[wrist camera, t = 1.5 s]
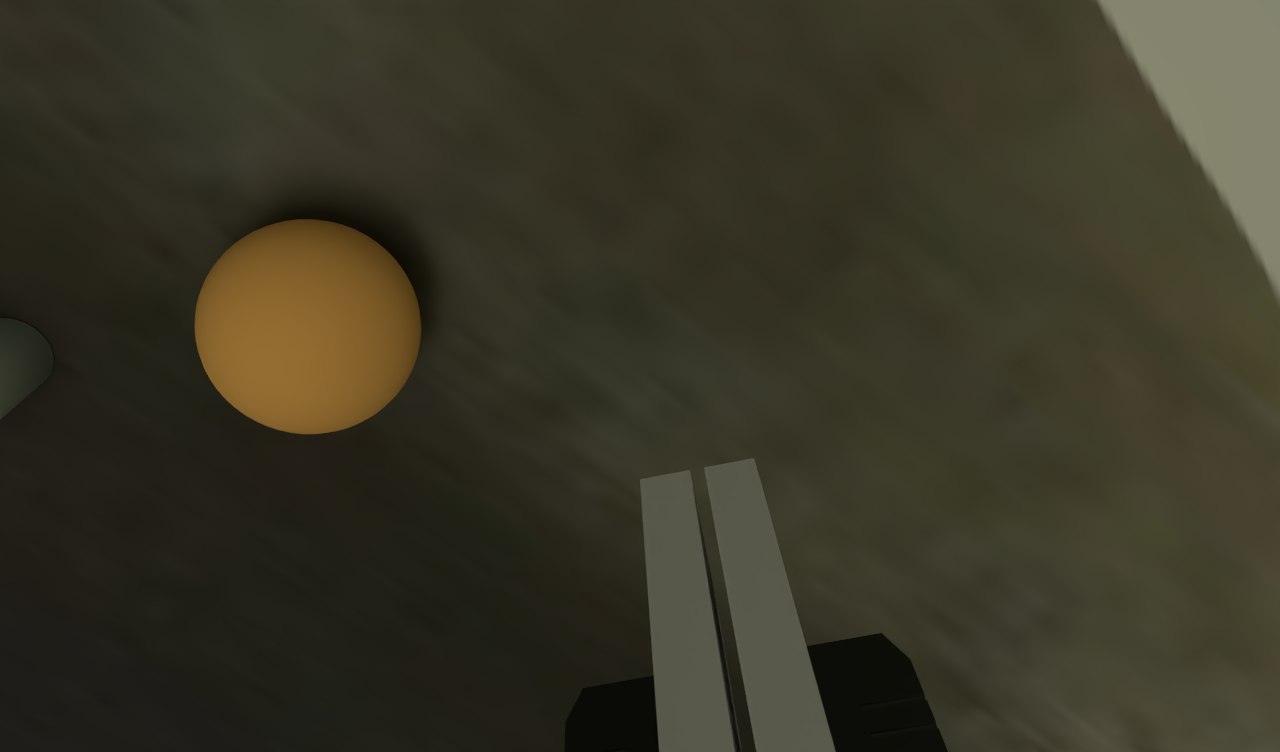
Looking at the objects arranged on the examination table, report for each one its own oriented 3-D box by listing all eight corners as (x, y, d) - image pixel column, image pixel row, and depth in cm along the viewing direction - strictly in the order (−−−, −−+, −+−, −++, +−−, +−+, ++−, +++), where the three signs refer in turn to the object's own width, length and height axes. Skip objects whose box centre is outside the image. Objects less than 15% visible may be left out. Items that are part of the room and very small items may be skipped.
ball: (458, 357, 32) (429, 451, 26) (277, 392, 32) (211, 493, 26) (403, 175, 29) (357, 238, 24) (206, 215, 29) (118, 287, 24)
